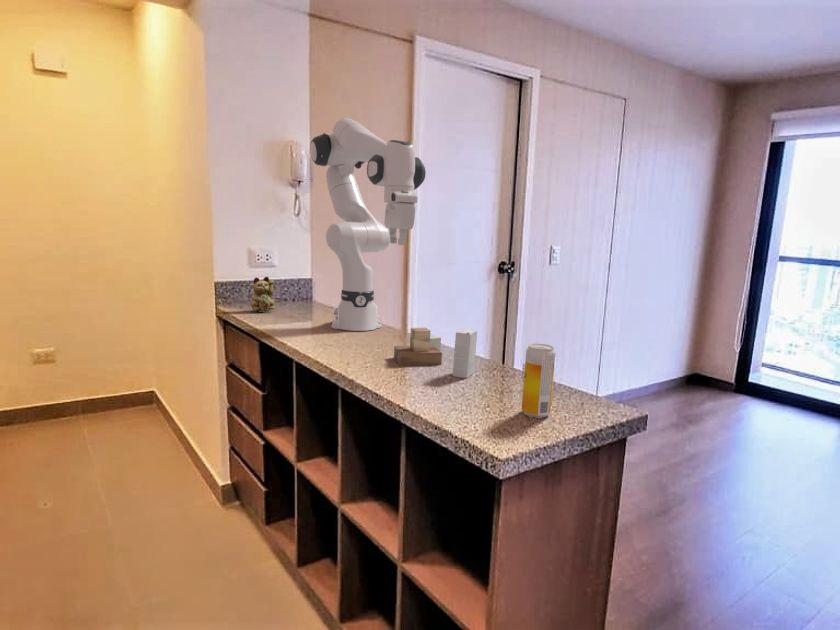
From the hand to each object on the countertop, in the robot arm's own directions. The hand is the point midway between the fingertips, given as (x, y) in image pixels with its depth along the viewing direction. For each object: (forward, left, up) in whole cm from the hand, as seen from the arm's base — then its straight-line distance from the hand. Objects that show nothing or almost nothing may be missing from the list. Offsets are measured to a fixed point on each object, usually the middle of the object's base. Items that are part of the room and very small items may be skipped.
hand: (397, 244), depth 161 cm
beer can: (+59, +16, -33) cm, 70 cm away
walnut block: (+12, +4, -34) cm, 36 cm away
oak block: (+12, +4, -30) cm, 32 cm away
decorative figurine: (-76, -37, -33) cm, 91 cm away
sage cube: (+2, +11, -33) cm, 35 cm away
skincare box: (+28, +12, -33) cm, 45 cm away
